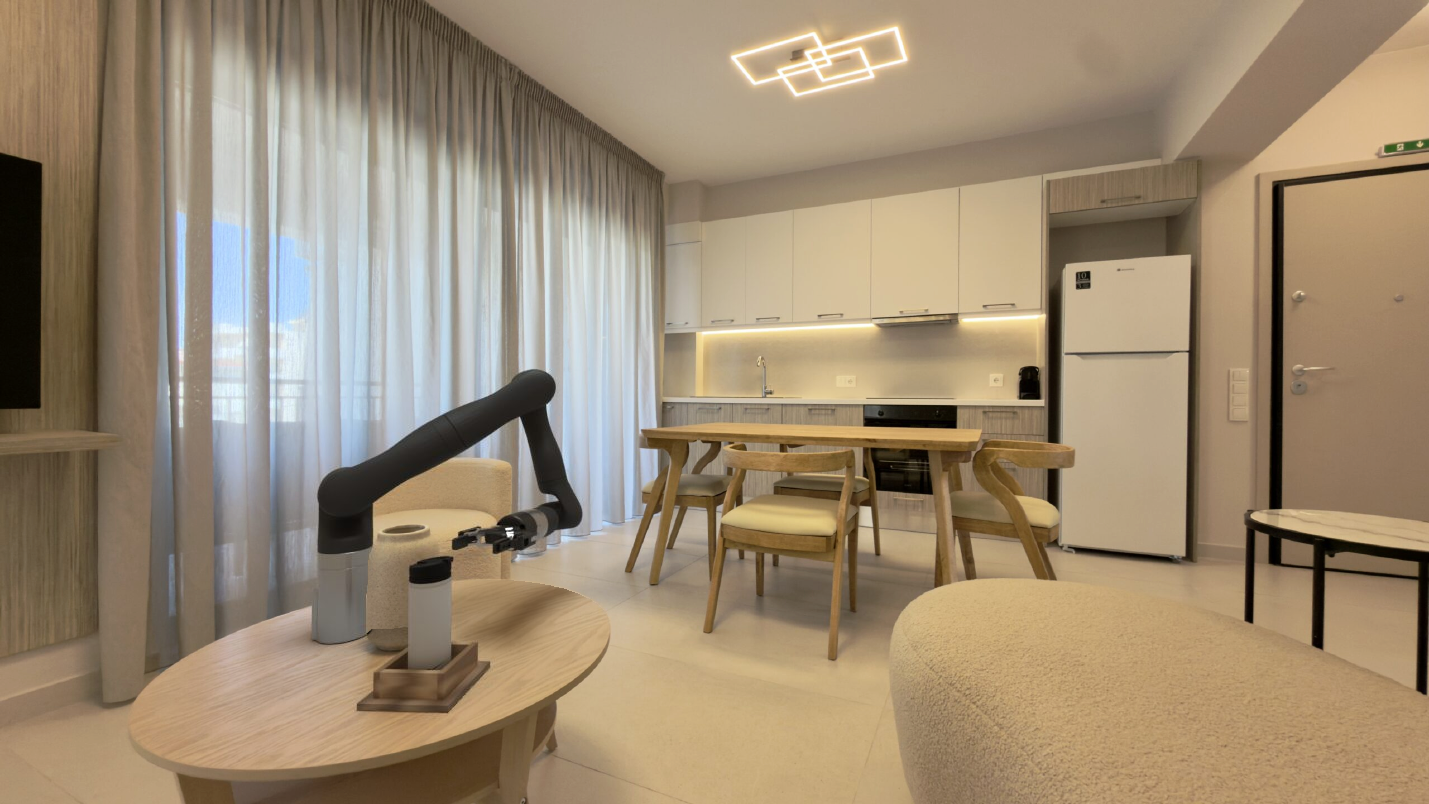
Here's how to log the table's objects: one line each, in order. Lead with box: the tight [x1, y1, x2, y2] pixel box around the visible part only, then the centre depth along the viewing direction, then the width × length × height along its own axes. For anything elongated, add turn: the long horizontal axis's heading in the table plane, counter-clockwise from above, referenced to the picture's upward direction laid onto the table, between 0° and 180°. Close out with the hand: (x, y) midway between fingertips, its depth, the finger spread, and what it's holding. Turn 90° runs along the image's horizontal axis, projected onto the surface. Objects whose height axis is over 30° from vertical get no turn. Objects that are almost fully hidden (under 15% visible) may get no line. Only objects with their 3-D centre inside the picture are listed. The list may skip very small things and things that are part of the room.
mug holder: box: [356, 641, 491, 713], centre depth 88 cm, size 14×14×5 cm
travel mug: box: [407, 555, 454, 670], centre depth 88 cm, size 6×7×20 cm
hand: (473, 546), depth 99 cm, fingers open, 8 cm apart
